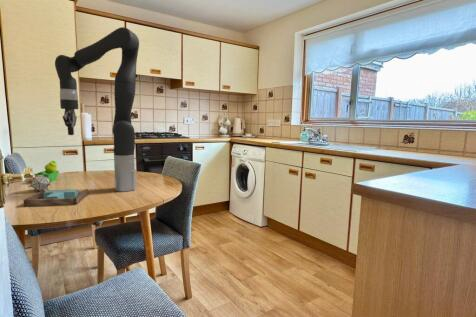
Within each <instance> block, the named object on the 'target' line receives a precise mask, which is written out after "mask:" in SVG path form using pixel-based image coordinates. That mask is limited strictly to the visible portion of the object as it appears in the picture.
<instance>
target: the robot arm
mask: <svg viewBox="0 0 476 317" xmlns="http://www.w3.org/2000/svg"><path fill="white" fill-rule="evenodd" d="M139 48H140V40H139V37H138V35H137V34H136V33H135V32H133V31H132V30H131V29H129V28H127V27H124V26H121V27H118V28H116V29H115V30H113V31H112V32H110V33H109V34H107V35H105V36H104V37H103V38H100V39H99V40H97V41H95V42H94V43H91V44H89V45H88V46H85V47H82V48H80V49H78V50H76V51H75V52H74V53H73V55H74V56H69V55H64V54H59V55H58V56H56V58H55V61H54V66H55V67H54V68H55V70H56V74H57V76H58V80H59V102H60V103H59V105H60V109H62V110H64V113H63V115H62V119H63V122H64V125H65V127H66V128H67V135H68V136H74V135H75V129H74V128H75V126H76V123H77V118H78V116H77V115H76V113H75V110H79V95H78V88H77V79H76V78H75V77H74V76H72V73H77V72H78V71H81V69H84V68H85V66H87V65H90V64H93V63H95V62H97V61H99V60H100V59H101V58H102V57H103V56H105V54H106V53H109V52H110V51H112V50H116V49H120V50H121V62H120V65H119V68H118V69H117V72H116V74H115V76H114V94H113V95H114V116H113V117H114V119H113V125H112V129H111V130H112V134H113V162H114V163H113V165H114V166H113V167H114V168H113V169H114V190H115V191H116V192H129V191H135V190H136V189H137V174H136V173H137V171H136V170H137V169H136V164H135V162H136V160H135V149H136V145H135V144H136V142H135V140H136V137H135V136H136V134H135V128H134V126H133V124H132V109H133V106H134V101H135V96H136V84H137V83H136V82H137V80H136V79H137V78H136V77H137V76H136V75H137V63H138V62H137V61H138V54H139Z"/></svg>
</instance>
